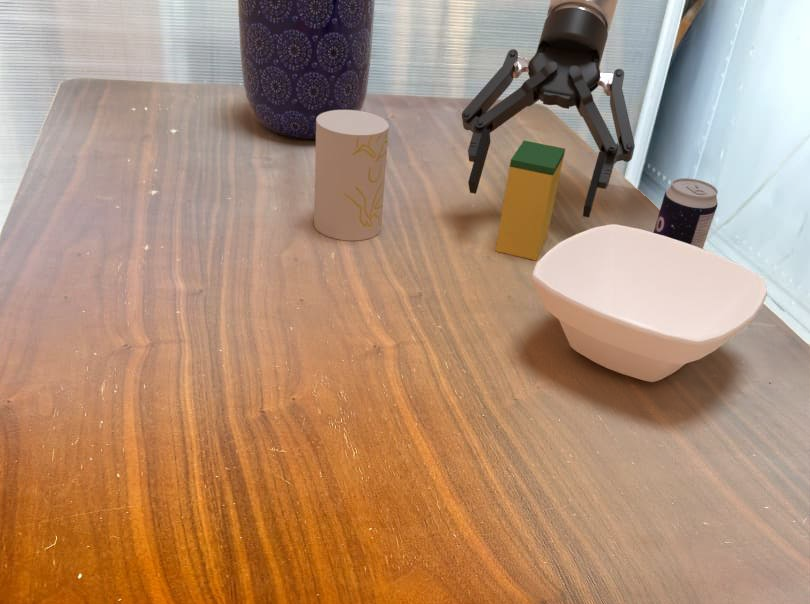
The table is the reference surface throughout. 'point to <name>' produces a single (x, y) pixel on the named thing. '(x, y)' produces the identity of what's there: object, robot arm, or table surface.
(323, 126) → the beige patterned cylinder
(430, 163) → the table surface
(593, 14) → the robot arm
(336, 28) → the planter
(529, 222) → the sponge
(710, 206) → the beverage can
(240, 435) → the table surface
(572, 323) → the bowl
